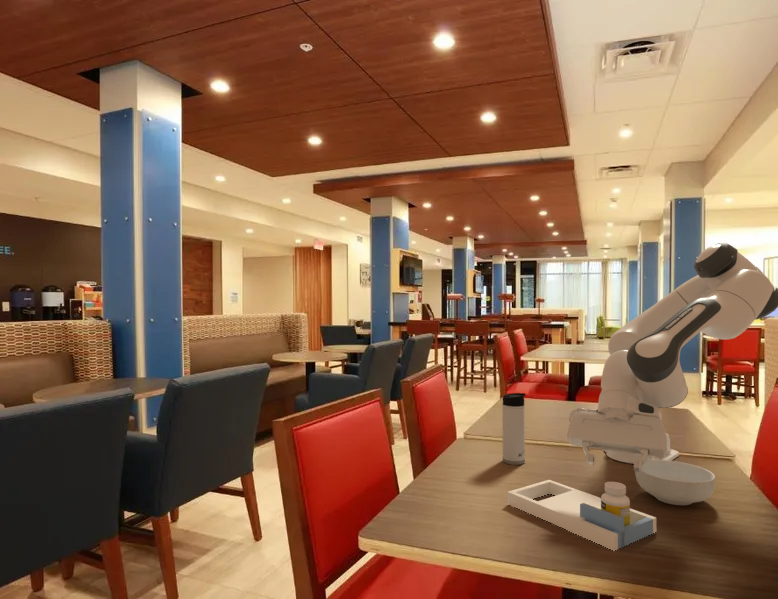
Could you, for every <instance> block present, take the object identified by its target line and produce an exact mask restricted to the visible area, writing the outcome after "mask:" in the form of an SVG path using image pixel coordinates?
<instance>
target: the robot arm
mask: <svg viewBox="0 0 778 599" xmlns="http://www.w3.org/2000/svg"><path fill="white" fill-rule="evenodd" d="M693 266H694V270H695V272H696V274H697V275H695V276H694V277H692V278H689V279H688V280H686V281H685V282H684V283H682V284H680V285H679V286H677V287H676V288H675V289H674V290H672V291H671V292H669V293H668V294H667V295H665V296H664V297H663V298H661V299H660V300H658V301H657V302H656V303H654V304H653V305H652V306H650V307H649V308H648V309H646V310H644V311H643V312H642V313H640V314H639V315H637V316H636V317H635V318H633V319H631V320H630V321H629V322H627V323H626V324H624V325H623V326H621V327H620V328H619V329H617V330H616V331H615V332H614V333H612V334H611V336H610V337H609V340H608V344H607V345H608V346H607V348H608V353H609V356H608V357H607V359H606V361H605V363H604V366H603V370H602V374H601V381H600V388H601V391H600V393H599V397H598V405H597V409H591V408H582V407H578V408H576V409H574V410H573V409H572V410H571V411H570V413H569V418H568V419H569V424H568V427H567V428H568V429H567V433H566V437H567V440H568V442H569V444H570V445H571V446H574V447H581V448H582V449H583V450H582V451H583V452H584V454H585V456H586V457H585V464H586V465H590V466H594V465H595V463H594V462H595V454H593V453H590V452H591V449H597V450H603V451H604V452H605V453H606V456H607V457H608V458H610V459H612V460H615V461H618V462H620V463H621V462H622V463H626V464H633V471H634V472H635V471H636V472H642V466H643V465H644V464H645V463H646V461H647V460H670V461H674V459H676V458H677V457H680V452H679V451H677V450H676V449H673V448H671V439H670V435H669V434H668V433H667V430H666V426H665V424H664V422H663V421H662V412H661V410H660V409H670V408H674V407H676V406H679V405H680V404H681V403H683V401H685V399H686V398H687V397H688V393H689V388H688V383H687V381H686V378H685V375H684V373H683V369H682V367H681V366H682V365H681V363H680V361H681V360H680V356H681V350H682V349H683V347H684V346H685V345H686V344H687V343H689V341H691V340H692V339H693V338H694V337H695V336H697V335H698V334H699V333H702V334H704V335H706V336H708V337H711V338H713V339H718V340H732V339H736V338H737V337H738V336H740V335H742V334H743V333H745V332H746V330H747V329H748V328H749V327H751V325H752V324H753V322H754V321H756V320H759V319H763V318H765V317H767V316H768V315H770V314H772V313H773V312H775V311H776V310H777V309H778V287H777V286H776V285H774V284H773V283H772V282H771V280H770V278H768V277H767V276H766V275H765V274H764V272H763V271H761V269H760V268H759V267H758V266H755V264H753V262H751V261H750V260H749V259H748V258H746V256H744V255H743V254H741V253H740V252H739V251H738V249H737V248H736V247H734V246H733V245H731V244H729V243H726V242H720V243H716V244H714V245H711V246H709V247H707V248H705V249H704V250H703V251H701V253H700V254H699V255H698V257H697V258H695V260H694V265H693Z"/></svg>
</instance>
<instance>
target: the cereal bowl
mask: <svg viewBox="0 0 778 599" xmlns="http://www.w3.org/2000/svg"><path fill="white" fill-rule="evenodd" d="M634 474H635V478H636V482H637V483H638V485H639V486H640V488H642V490H644V491H645V492H647V493H648V494H649V495H651V496H653V497H654V498H655V499H656V500H658V501H660V502H663V503H665V504H669V505H675V506H688V505H689V506H690V505H692V504H693V503H700V502H703V501H706V500H707V499H709V498H711V496H712V494H713V493H714V491H715V487H716V476H715V473H713V472H712V471H710V470H709V469H706V468H704V467H702V466H698V465H696V464H691V463H686V462H682V461H676V460H671V461H670V460H647V461H646V463H645V464H644V465H643V466H642V472H636V471H634Z"/></svg>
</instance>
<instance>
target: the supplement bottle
mask: <svg viewBox="0 0 778 599" xmlns="http://www.w3.org/2000/svg"><path fill="white" fill-rule="evenodd" d="M626 494H627V486H626V485H625V484H623V483H621V482H617V481H606V482H604V493H602V494H601V496H600V498H601V510H604V511H607V512H609V513H612V514H615V515H617V516H620V517H623V518H624V526H627V525H629V524H630V508H631V501H630V498H629V497H628V496H627V495H626Z"/></svg>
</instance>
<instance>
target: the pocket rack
mask: <svg viewBox="0 0 778 599" xmlns="http://www.w3.org/2000/svg"><path fill="white" fill-rule="evenodd" d="M547 494H549V495H550V494H552V495H551V497H548V498H544V499H541V500H538V501H537V500H536V499H534V498H537V497H540V498H542V497H541V496H543V497H545V496H544V495H546V496H548V495H547ZM553 495H555V496H553ZM533 499H534V500H533ZM537 499H538V498H537ZM509 505H511V506H510V507H512V506H513V507H512V508H514V507H516V508H518V509H520V510H519V511H521V510H523V511H525V512H527V513H526V514H528V513H529V514H528V515H530V514H532V515H534V516H536V517H535V518H537V517H539V518H541V519H543V520H546V521H548V522H551V523H553V524H555V525H557V526H559V527H562V528H564V529H566V530H568V531H567V532H569V531H570V532H569V533H571V532H572V533H571V534H573V533H574V535H575V534H577V535H576V536H578V535H579V536H578V537H580V536H582V537H583V538H582V537H581V538H582V539H584V538H586V539H585V540H587V539H588V540H587V541H589V540H591V541H593V542H592V543H594V542H595V543H594V544H596V543H597V544H596V545H598V544H600V545H602V546H601V547H603V546H604V547H603V548H605V547H606V548H605V549H607V548H608V549H607V550H609V549H611V550H610V551H612V550H613V552H616V551H618V550H620V549H619V548H621V549H623V548H625V547H627V546H629V544H630V543H632V544H634V543H636V542H638V541H640V540H639V539H641V540H642V538H643V539H645V538H647V537H649V536H648V535H650V536H652V535H654V534H656V533H657V517H656V516H653V515H650V514H647V513H645V512H642V511H639V510H636V509H633V508H631V507H630V524H629V525H627V526H624V518H623V517H620V516H617V515H615V514H612V513H609V512H607V511H604V510H601V497H599V496H596V495H593V494H591V493H589V492H585V491H583V490H579V489H577V488H573V487H571V486H568V485H565V484H562V483H560V482H557V481H553V480H551V479H547V480H542V481H540V482H537V483H533V484H530V485H526V486H522V487H519V488H516V489H513V490H507V506H509ZM516 508H515V509H516ZM518 509H517V510H518ZM523 511H522V512H523ZM525 512H524V513H525ZM532 515H531V516H532ZM534 516H533V517H534ZM539 518H538V519H539ZM541 519H540V520H541ZM543 520H542V521H543ZM546 521H545V522H546ZM548 522H547V523H548ZM553 524H552V525H553ZM555 525H554V526H555ZM557 526H556V527H557ZM559 527H558V528H559ZM562 528H561V529H562ZM564 529H563V530H564ZM566 530H565V531H566ZM655 532H656V533H655ZM653 533H654V534H653ZM651 534H652V535H651ZM646 536H647V537H646ZM644 537H645V538H644ZM637 540H638V541H637ZM591 541H590V542H591ZM635 541H636V542H635ZM633 542H634V543H633ZM600 545H599V546H600ZM626 545H627V546H626ZM630 545H631V544H630ZM624 546H625V547H624ZM622 547H623V548H622ZM617 549H618V550H617ZM615 550H616V551H615Z"/></svg>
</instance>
